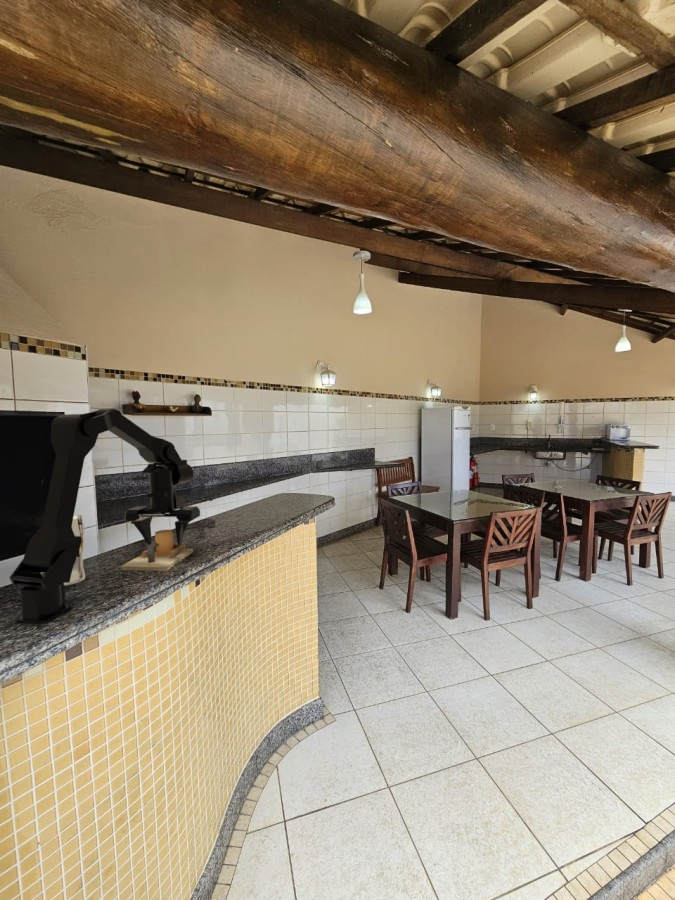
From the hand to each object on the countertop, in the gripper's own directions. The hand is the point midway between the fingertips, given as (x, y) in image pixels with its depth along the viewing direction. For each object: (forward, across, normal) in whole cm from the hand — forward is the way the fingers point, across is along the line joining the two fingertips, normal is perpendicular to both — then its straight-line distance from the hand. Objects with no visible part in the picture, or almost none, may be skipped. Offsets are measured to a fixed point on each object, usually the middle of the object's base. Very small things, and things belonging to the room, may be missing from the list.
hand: (164, 544), depth 108 cm
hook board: (+4, 0, +3) cm, 5 cm away
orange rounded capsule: (+2, 0, 0) cm, 2 cm away
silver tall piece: (+4, +14, +17) cm, 22 cm away
